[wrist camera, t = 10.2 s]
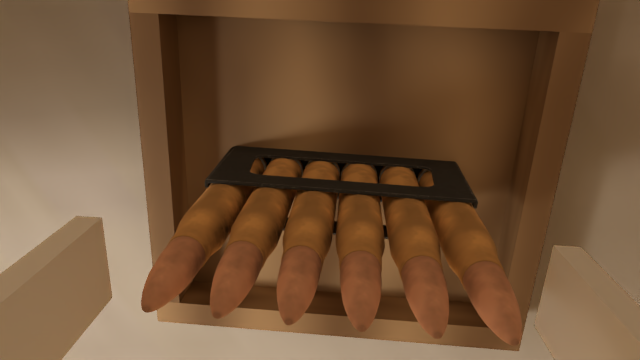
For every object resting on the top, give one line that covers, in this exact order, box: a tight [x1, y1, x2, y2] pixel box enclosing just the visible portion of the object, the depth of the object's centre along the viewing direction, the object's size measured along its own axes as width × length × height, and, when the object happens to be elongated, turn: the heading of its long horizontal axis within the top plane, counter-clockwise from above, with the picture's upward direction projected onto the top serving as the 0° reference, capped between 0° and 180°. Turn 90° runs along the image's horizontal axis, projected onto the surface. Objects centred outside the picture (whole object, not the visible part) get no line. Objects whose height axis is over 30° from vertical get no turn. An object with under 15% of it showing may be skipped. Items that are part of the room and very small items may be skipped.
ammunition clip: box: [141, 146, 522, 346], centre depth 17 cm, size 11×2×12 cm, turn 87°
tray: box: [128, 0, 600, 351], centre depth 22 cm, size 18×16×3 cm
